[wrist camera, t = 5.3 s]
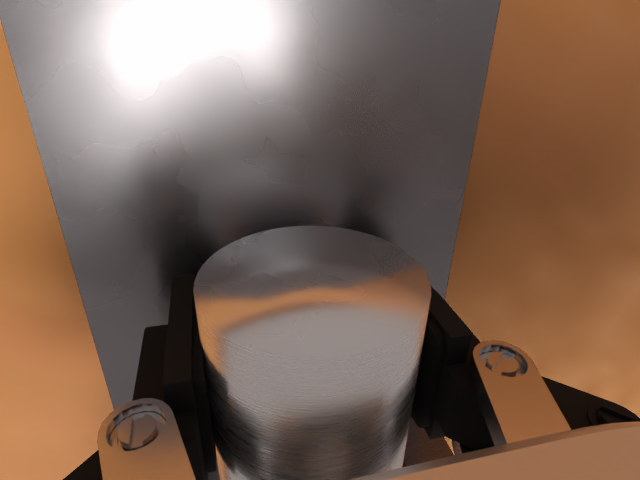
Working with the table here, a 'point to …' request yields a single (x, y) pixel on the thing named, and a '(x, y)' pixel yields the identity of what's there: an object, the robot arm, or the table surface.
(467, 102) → the rail
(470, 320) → the table surface
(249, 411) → the tube
